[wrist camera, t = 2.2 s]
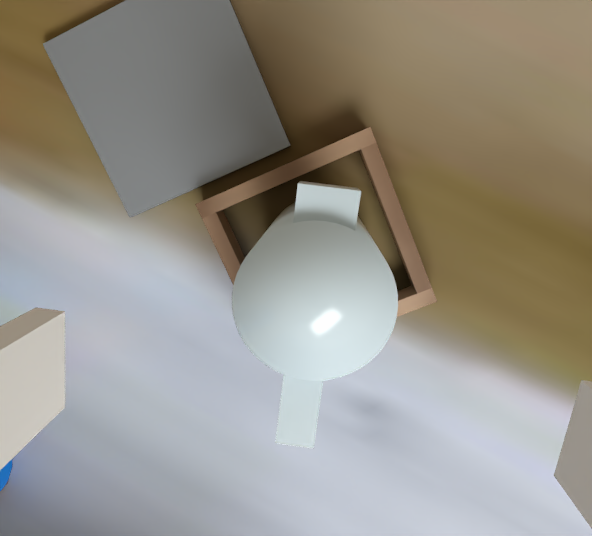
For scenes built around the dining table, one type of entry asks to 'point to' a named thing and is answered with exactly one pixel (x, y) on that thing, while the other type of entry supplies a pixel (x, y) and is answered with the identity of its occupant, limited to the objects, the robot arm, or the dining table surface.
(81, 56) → the coaster
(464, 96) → the dining table surface
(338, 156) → the frame
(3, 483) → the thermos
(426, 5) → the dining table surface
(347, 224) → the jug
